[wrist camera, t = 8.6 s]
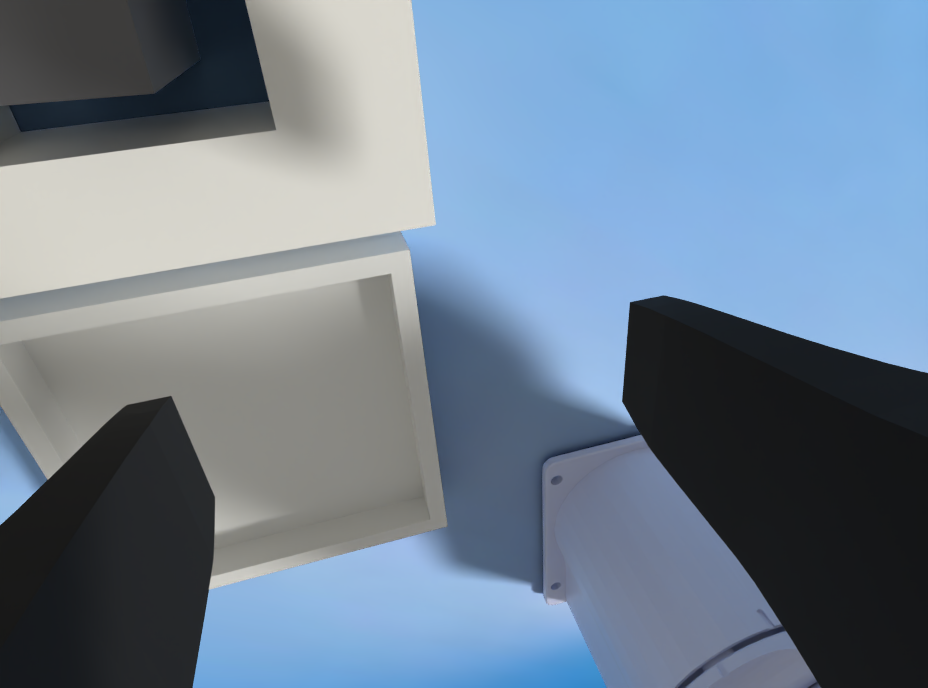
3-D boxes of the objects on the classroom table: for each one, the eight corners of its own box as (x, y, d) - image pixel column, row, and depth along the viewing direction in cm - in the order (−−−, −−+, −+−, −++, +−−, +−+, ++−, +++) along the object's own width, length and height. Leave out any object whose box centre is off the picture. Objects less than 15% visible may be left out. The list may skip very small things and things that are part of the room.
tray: (437, 492, 23) (447, 526, 22) (141, 567, 21) (130, 610, 20) (398, 227, 17) (409, 249, 16) (-16, 297, 15) (-49, 330, 14)
